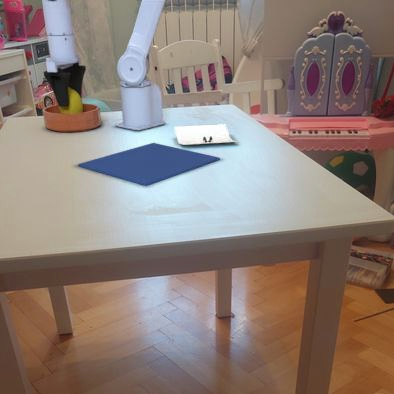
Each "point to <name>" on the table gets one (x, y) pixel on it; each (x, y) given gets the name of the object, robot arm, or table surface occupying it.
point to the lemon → (73, 103)
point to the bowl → (72, 119)
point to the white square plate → (202, 134)
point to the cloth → (149, 163)
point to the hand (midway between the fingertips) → (70, 103)
